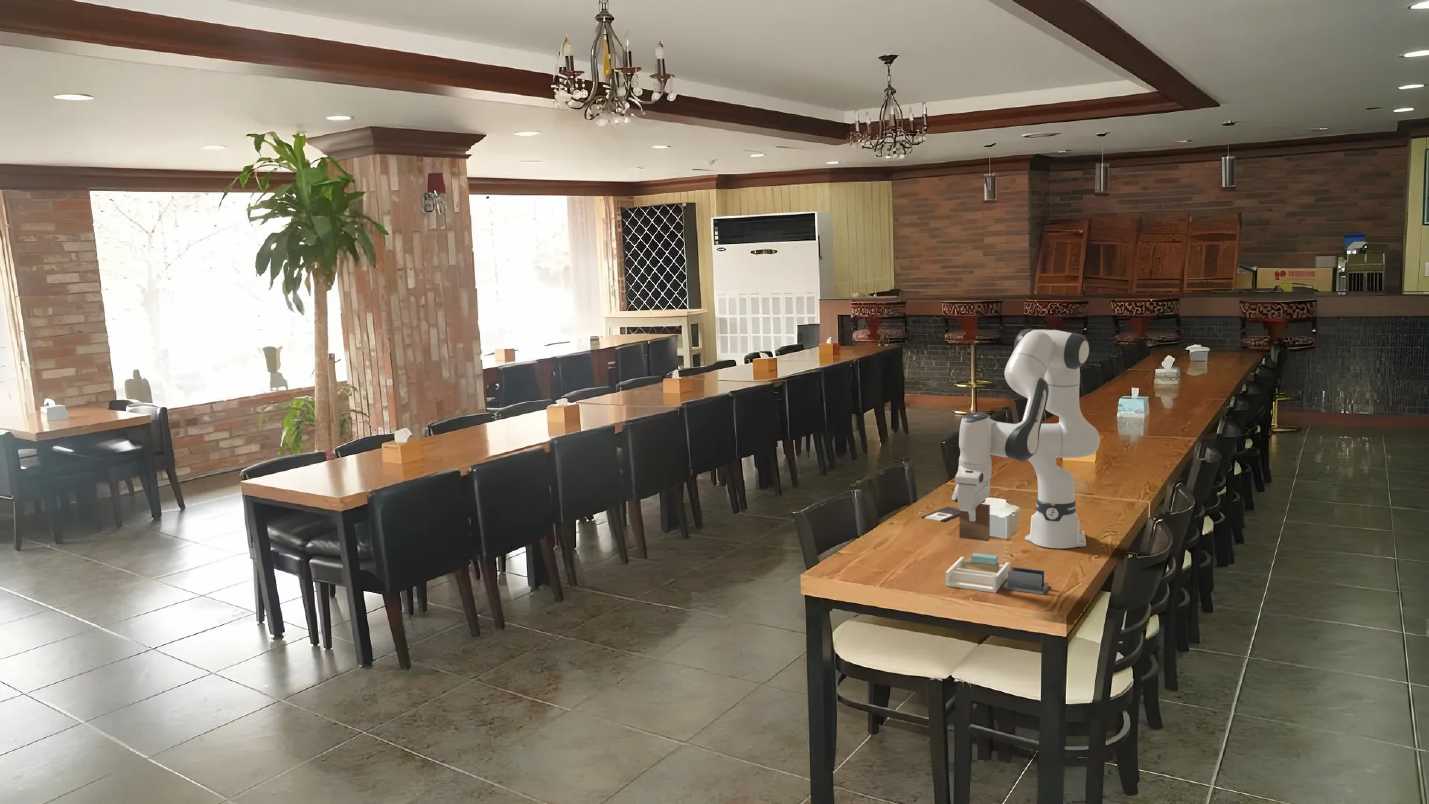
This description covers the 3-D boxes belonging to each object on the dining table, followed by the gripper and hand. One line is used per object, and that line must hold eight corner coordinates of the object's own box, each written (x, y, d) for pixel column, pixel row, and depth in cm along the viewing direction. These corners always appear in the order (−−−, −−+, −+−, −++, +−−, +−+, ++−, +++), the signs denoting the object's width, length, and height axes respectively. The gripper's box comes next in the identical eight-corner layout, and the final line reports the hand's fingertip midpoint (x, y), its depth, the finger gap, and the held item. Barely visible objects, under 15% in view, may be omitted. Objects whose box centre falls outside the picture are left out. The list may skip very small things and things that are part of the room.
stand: (1009, 580, 277) (1009, 564, 276) (1049, 585, 271) (1049, 569, 270) (1002, 588, 270) (1002, 572, 269) (1043, 594, 264) (1043, 577, 264)
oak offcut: (968, 568, 285) (968, 559, 284) (999, 572, 280) (999, 562, 280) (965, 571, 282) (965, 561, 282) (996, 575, 278) (996, 565, 277)
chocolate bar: (969, 510, 352) (943, 520, 340) (969, 512, 353) (943, 523, 340) (947, 506, 359) (921, 516, 346) (947, 509, 359) (921, 519, 346)
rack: (961, 569, 288) (961, 556, 287) (1009, 575, 281) (1009, 562, 280) (945, 585, 274) (945, 572, 273) (995, 592, 267) (995, 578, 266)
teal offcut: (973, 559, 284) (973, 552, 284) (997, 562, 280) (997, 555, 280) (970, 562, 281) (971, 555, 281) (995, 565, 278) (995, 558, 278)
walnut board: (961, 536, 276) (961, 502, 274) (989, 539, 272) (989, 504, 270) (959, 537, 274) (959, 503, 272) (987, 541, 270) (987, 506, 268)
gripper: (973, 462, 280) (973, 508, 282) (953, 478, 263) (953, 527, 265) (995, 464, 277) (995, 511, 279) (976, 480, 260) (976, 529, 262)
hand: (974, 519), depth 272 cm, fingers closed on walnut board, 2 cm apart
